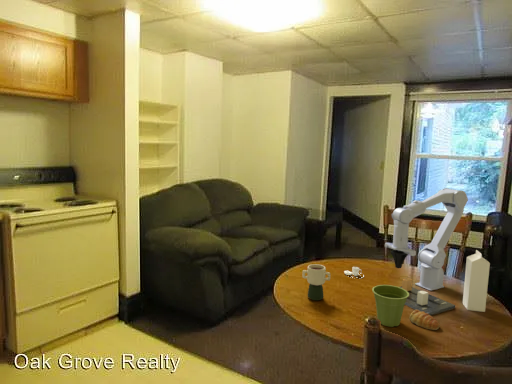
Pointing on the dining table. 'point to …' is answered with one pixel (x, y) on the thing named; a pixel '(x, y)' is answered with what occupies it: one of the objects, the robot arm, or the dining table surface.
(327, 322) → the dining table surface
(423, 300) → the fader
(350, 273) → the teacup and saucer
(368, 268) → the dining table surface
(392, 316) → the plant pot
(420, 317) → the pastry
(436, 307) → the console
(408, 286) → the block
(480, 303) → the milk
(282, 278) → the dining table surface
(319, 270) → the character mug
